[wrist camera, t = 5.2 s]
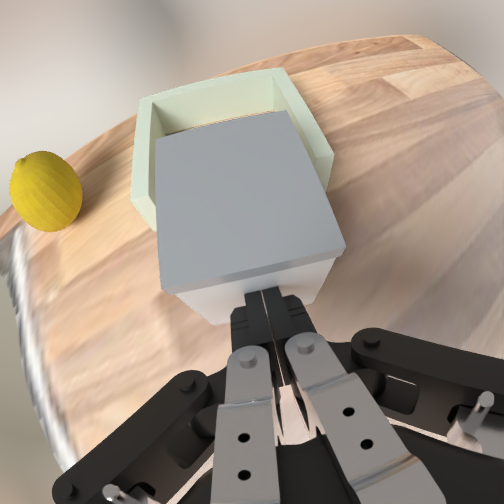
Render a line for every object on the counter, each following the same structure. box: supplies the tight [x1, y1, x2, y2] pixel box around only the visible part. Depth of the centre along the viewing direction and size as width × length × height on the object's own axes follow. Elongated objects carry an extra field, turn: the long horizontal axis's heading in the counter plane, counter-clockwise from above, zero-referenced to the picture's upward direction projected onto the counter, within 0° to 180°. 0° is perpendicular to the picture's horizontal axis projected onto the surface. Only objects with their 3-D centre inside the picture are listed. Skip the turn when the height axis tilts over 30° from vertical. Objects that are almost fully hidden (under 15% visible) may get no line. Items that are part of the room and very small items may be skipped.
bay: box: [130, 67, 335, 232], centre depth 20 cm, size 12×11×4 cm
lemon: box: [10, 151, 83, 232], centre depth 17 cm, size 6×6×8 cm
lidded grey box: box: [155, 110, 346, 326], centre depth 14 cm, size 6×7×8 cm
